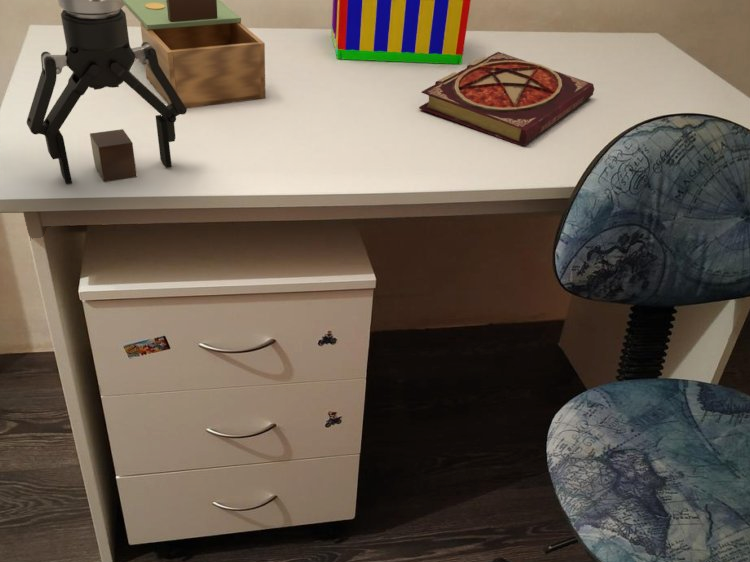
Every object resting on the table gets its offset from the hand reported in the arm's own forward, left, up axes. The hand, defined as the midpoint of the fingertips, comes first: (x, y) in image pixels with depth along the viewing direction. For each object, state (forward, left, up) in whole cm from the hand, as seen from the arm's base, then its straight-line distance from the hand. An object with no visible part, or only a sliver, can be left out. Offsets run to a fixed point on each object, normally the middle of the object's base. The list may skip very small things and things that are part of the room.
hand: (117, 171), depth 112 cm
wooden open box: (+22, +25, 0) cm, 33 cm away
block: (0, 0, 0) cm, 0 cm away
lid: (+22, +35, +9) cm, 42 cm away
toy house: (+64, +33, 0) cm, 72 cm away
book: (+70, +3, 0) cm, 70 cm away
